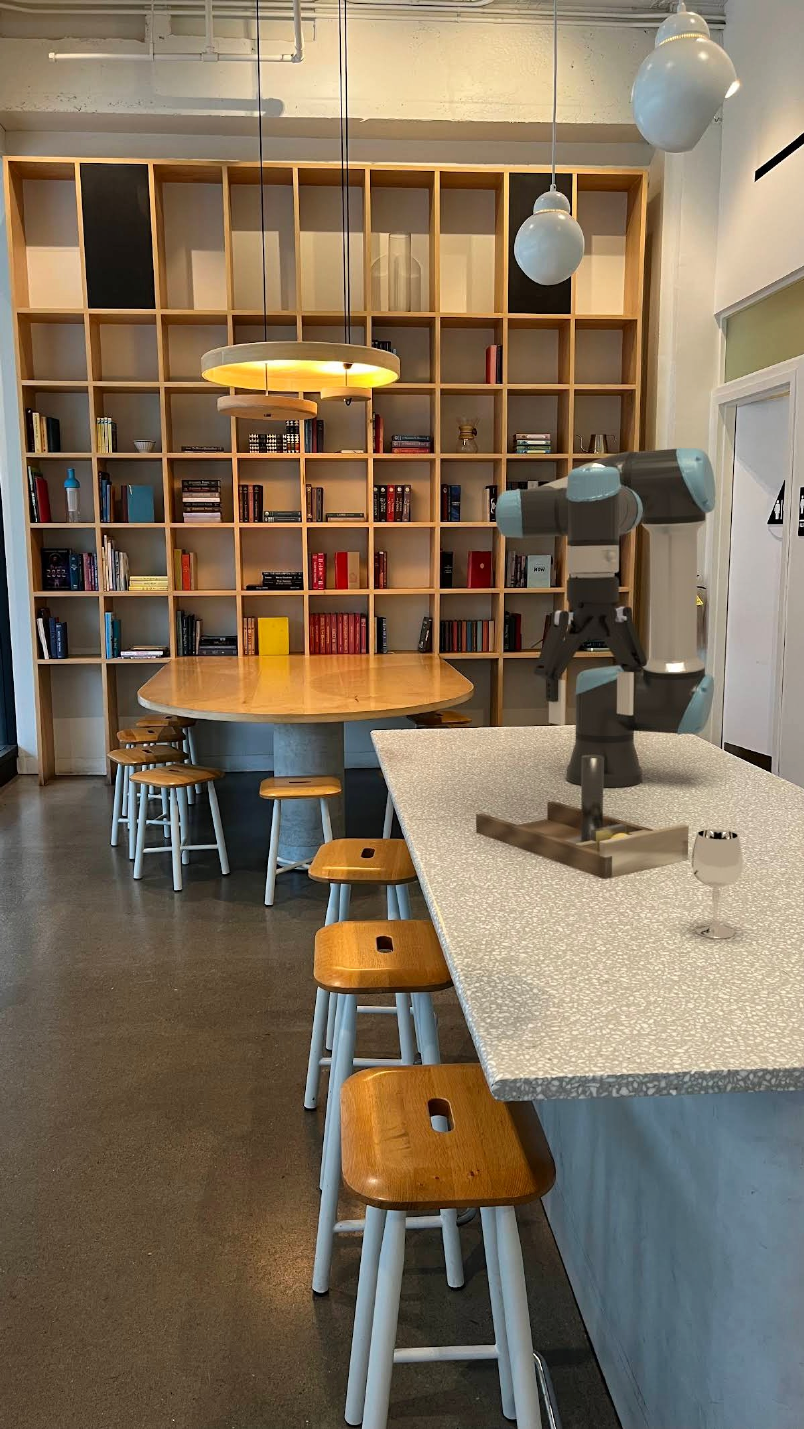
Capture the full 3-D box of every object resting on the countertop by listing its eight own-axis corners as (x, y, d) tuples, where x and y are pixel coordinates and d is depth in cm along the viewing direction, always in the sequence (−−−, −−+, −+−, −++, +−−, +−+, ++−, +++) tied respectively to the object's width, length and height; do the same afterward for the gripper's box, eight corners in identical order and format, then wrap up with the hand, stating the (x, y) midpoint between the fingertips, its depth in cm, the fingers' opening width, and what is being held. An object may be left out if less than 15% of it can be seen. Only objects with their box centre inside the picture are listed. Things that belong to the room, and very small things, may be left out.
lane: (476, 839, 165) (476, 802, 164) (552, 825, 173) (553, 789, 172) (605, 887, 139) (605, 843, 139) (687, 867, 148) (688, 826, 147)
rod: (555, 848, 153) (556, 757, 151) (600, 839, 158) (601, 750, 156) (588, 859, 147) (589, 764, 145) (633, 850, 152) (635, 757, 150)
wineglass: (682, 924, 125) (685, 829, 123) (728, 922, 125) (731, 827, 123) (700, 941, 119) (703, 841, 117) (748, 939, 119) (751, 840, 118)
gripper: (543, 578, 140) (543, 731, 143) (672, 573, 153) (669, 713, 156) (509, 578, 146) (510, 724, 149) (635, 573, 159) (634, 707, 162)
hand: (591, 719), depth 153 cm, fingers open, 13 cm apart
